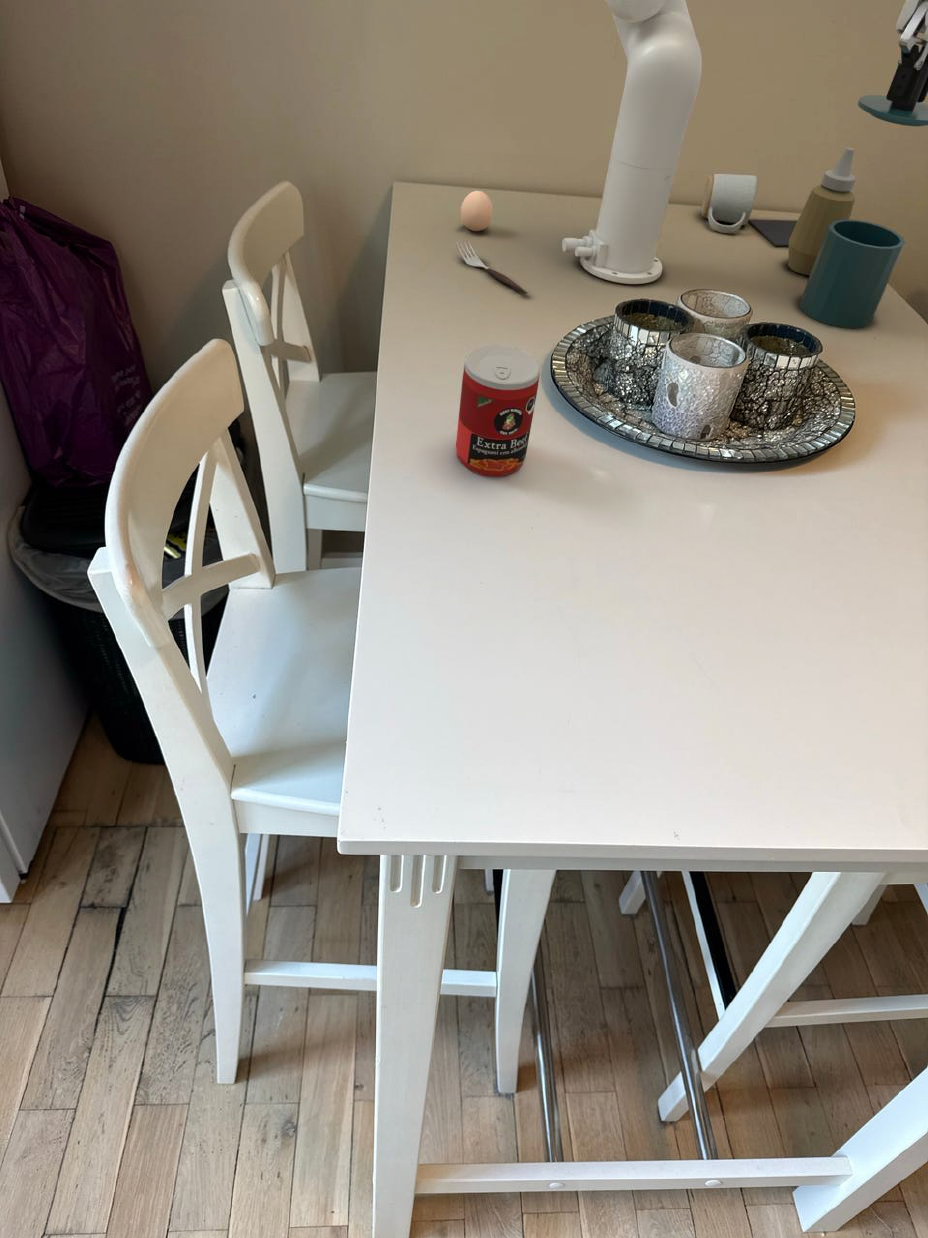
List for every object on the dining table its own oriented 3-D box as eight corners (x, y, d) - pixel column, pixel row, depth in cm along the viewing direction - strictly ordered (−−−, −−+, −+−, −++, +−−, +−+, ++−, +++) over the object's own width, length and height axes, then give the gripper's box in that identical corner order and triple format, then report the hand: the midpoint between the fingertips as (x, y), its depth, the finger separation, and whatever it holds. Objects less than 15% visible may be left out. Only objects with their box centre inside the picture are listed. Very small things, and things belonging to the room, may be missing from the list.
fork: (519, 298, 124) (521, 285, 123) (453, 255, 133) (455, 242, 131) (533, 295, 125) (535, 281, 124) (467, 253, 134) (469, 239, 133)
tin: (820, 328, 127) (852, 247, 119) (787, 296, 134) (816, 218, 126) (884, 327, 129) (919, 248, 121) (848, 296, 136) (879, 219, 128)
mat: (775, 246, 148) (776, 244, 148) (747, 221, 156) (748, 219, 156) (833, 247, 151) (834, 245, 150) (803, 222, 158) (803, 220, 158)
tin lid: (882, 128, 112) (904, 70, 108) (840, 102, 120) (859, 47, 116) (958, 132, 115) (983, 76, 110) (912, 107, 122) (934, 53, 118)
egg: (492, 226, 143) (496, 188, 139) (488, 238, 139) (492, 199, 135) (461, 221, 143) (465, 183, 139) (456, 233, 139) (460, 194, 135)
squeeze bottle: (825, 262, 145) (870, 144, 133) (835, 283, 139) (884, 160, 127) (776, 256, 145) (817, 136, 133) (785, 276, 139) (828, 153, 127)
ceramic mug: (697, 208, 158) (710, 163, 152) (743, 215, 158) (757, 170, 152) (700, 231, 150) (713, 184, 145) (748, 238, 150) (763, 191, 145)
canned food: (465, 480, 91) (477, 385, 84) (446, 438, 97) (455, 345, 89) (535, 475, 93) (552, 381, 86) (512, 433, 99) (526, 342, 91)
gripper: (976, -80, 109) (909, 87, 122) (910, -82, 101) (846, 98, 114) (1034, -69, 106) (959, 102, 118) (972, -70, 97) (898, 115, 110)
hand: (904, 99), depth 116 cm, fingers closed on tin lid, 3 cm apart
